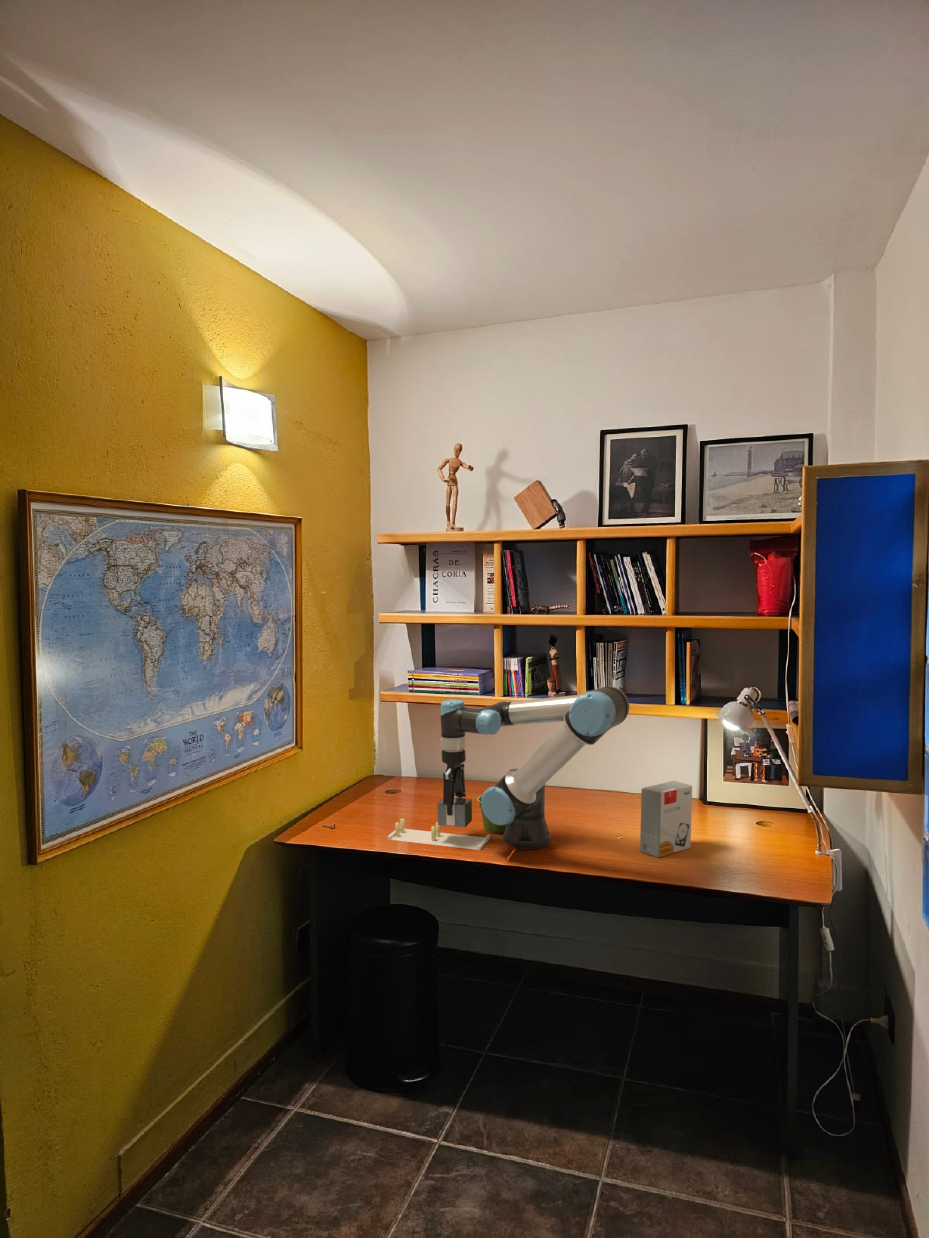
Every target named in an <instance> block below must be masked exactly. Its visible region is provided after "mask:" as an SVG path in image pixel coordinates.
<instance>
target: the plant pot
mask: <svg viewBox="0 0 929 1238" xmlns="http://www.w3.org/2000/svg"><path fill="white" fill-rule="evenodd" d="M481 798H482V795H479V796H478V797H477V799H476V800H477V802H478V803H479V808H480V811H481V812H480V813H481V817H482V818H481V819H482V824H483V829H484V831H485V832H487V833H493V834H498V833H503V832H504V830H505V827H506V824H505V825H497V824H494V823H492V822H491V821H489V820H488V819H487V817H486V816H485V815H484V813H483V810H482V807H481V806H482V805H481Z"/></svg>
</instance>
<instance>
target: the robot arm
mask: <svg viewBox="0 0 929 1238" xmlns="http://www.w3.org/2000/svg"><path fill="white" fill-rule="evenodd" d="M629 712H630V701H629V699H628V697H627V695H626V694H625V692H623V690H621V689H619V688H618V687H615V686H603V687H600V688H597V689H590V690H586V691H585V692H584V693H583V694H574V695H565V696H553V697H546V698H545V697H543V698H535V699H524V700H516V701H515V700H514V701H513V700H512V701H508V700H504V701H503V700H502V701H499V702H497V703H494V704H491V705H487V706H484V707H481V708H469V707H466V706H465V702H464V701H463V700H462V699H461V700H460V699H447V700H444V701H442V702H441V703H440V715H439V716H440V731H441V735H440V736H441V738H440V740H439V741H440V742H441V744H440V745H441V749H442V750H441V761H442V763H443V764H446V769H445V771H443V772H442V777H443V778H442V779H443V787H442V788H443V792H442V793H443V796H442V797H443V798H442V799H443V805H446V822H447V825H453V826H452V827H454V826H455V825H456V823H455V804H454V798H467V794H466V783H465V782H466V781H465V764H464V763H465V762H466V760H467V759H466V750H465V748H466V733H469V734H477V735H484V736H487V735H491V736H492V735H496V734H498V732H499V730H500V728H502V727H508V726H509V727H510V726H519V725H532V724H533V725H534V724H543V723H546V724H547V723H555V722H556V723H559V722H563V723H562V724H561V726H560V727H559V728H557V730H555V732H553V734H551V735H550V736H549V738H547V740H546V741H544V742H543V743H542V745H540V747H539V748H537V750H535V752H533V754H532V755H531V756H530V757H529V758H528V759H526V761H525V762H523V763H522V765H521V766H519V768H510V769H509V770H508V772H506V773H505V774H504V775H503V776H502V777H501V778H500V780H498V781H497V782H496V783H495V784H494V785H493V786H489V787H488V788H486V790H485V791H484V792H483V793H482V794H481V796H482V798H481V805H482V806H481V807H482V810H483V813H484V815H485V816H486V817H487V819H488V820H489V821H491V822H492V823H494V824H497V825H505V824H506V827H505V830H504V832H502V840H503V842H504V843H506V844H507V845H510V846H511V845H512V846H514V849H519V850H537V849H542V848H545V847H547V846H549V845H550V844H551V833H550V831H549V828H548V825H547V821H546V819H545V817H546V816H545V814H546V813H545V812H546V811H545V810H546V809H545V807H546V803H545V802H546V800H545V799H546V797H545V796H546V793H545V792H546V789H545V788H546V784H547V783H548V782H549V781H550V780H551V779H552V778H553V777H554V776H555V775H556V774H557V773H558V772H559V771H560V770H561V769H562V768H563V767H564V766H565V765H566V764H567V763H568V762H569V761H570V760H571V759H573V757H575V755H576V754H578V753H579V751H580V750H582V748H584V747H585V746H586V745H589V746H592V745H595V744H596V743H597V742H598V741H599V740H600V739H601V738H602V737H603V736H604V735H605V734H606V733H608V732H609V730H611V729H613V728H614V727H616V726H618V725H620V724H622V723H624V721H625V720H626V719H627V717H628V714H629Z"/></svg>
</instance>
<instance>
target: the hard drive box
mask: <svg viewBox="0 0 929 1238" xmlns="http://www.w3.org/2000/svg"><path fill="white" fill-rule="evenodd" d="M640 796H641V798H640V799H641V803H640V838H639V851H640V852H642V853H645V854H648V855H649V856H653V857H654V858H661V857H666V856H668V855H671V854H674V853H678V852H680V851H681V852H682V851H685V850H688V849H690V848H691V844H692V843H691V841H692V810H693V809H692V808H693V807H692V803H693V800H692V799H693V785H691V784H688V783H683V782H679V781H677V780H672V781H666V782H662V783H658V784H654V785H650V786H645V787H642V788H641V795H640Z"/></svg>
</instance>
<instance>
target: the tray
mask: <svg viewBox="0 0 929 1238" xmlns="http://www.w3.org/2000/svg"><path fill="white" fill-rule="evenodd" d="M399 820H400V822H399V821H396V822H395V824H394V826H395V827H394V828H395V829H394V831H392V832H391V833H390V834H388V835H387V841H389V840H390V841H399V842H407V843H415V844H425V845H433V846H442V847H450V848H458V849H459V848H460V849H467V850H468V849H469V850H474V851H475V850H476V851H477V850H478V851H481V850H482V849H483V848H484V847H485V845H486V844H487V843H488V842H489V841H490V840H491V835H490V834H487V835H486V836H485V837H484V836H476V835H474V836H473V835H465V834H455V833H449V832H448V833H446V832H441V825H438V821H436V822H435V825H431V827H430V829H431V830H429V831H428V830H420V829H418V830H417V829H411V828H406V827H405V818H403V817H402V818H400V819H399Z"/></svg>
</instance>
